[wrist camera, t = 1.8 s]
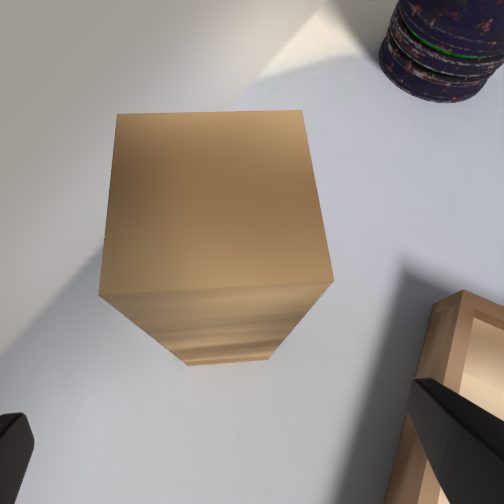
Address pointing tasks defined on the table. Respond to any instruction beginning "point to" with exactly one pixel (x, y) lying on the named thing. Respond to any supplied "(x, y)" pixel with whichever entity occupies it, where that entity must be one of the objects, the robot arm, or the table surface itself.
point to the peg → (214, 231)
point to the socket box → (452, 383)
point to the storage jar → (443, 47)
